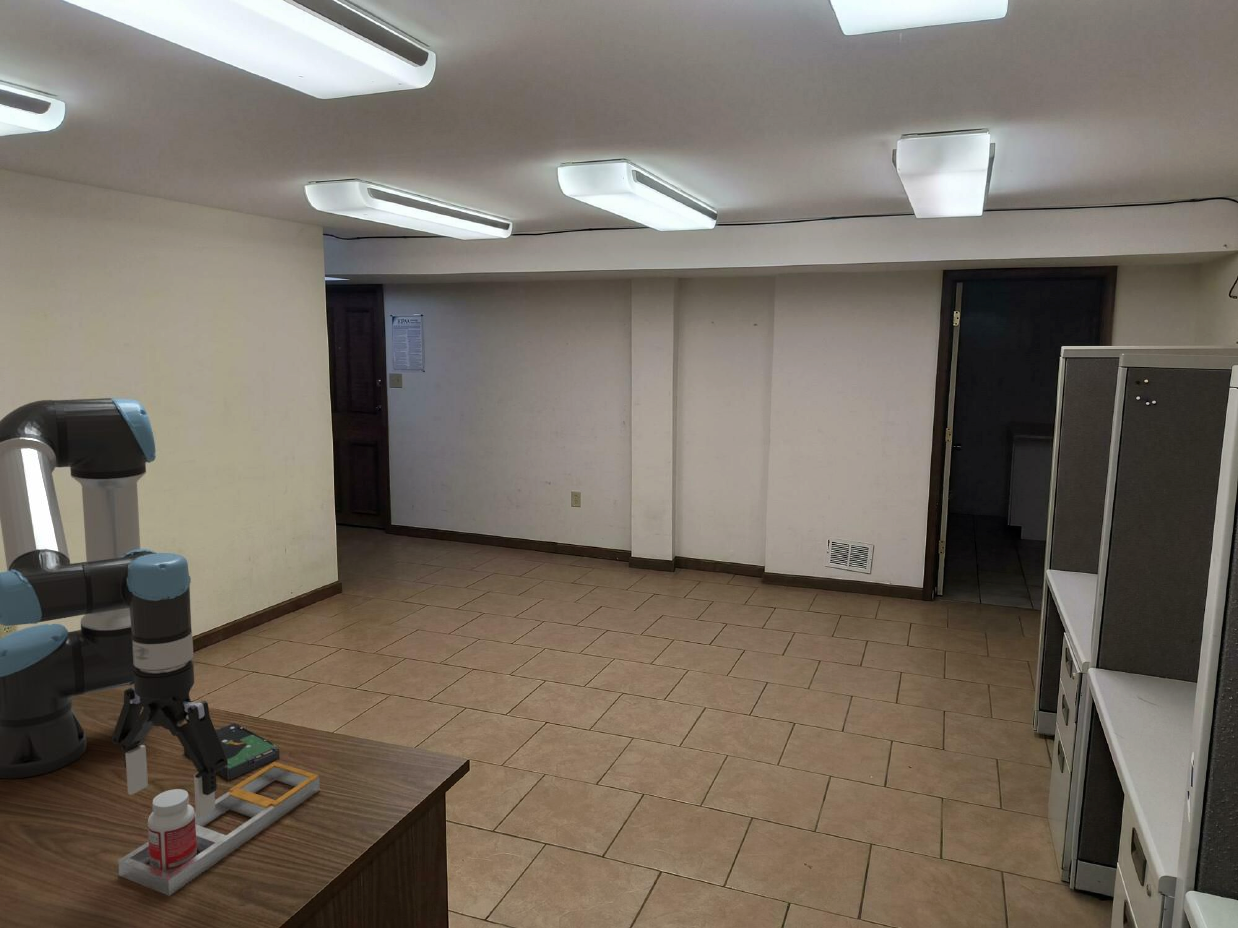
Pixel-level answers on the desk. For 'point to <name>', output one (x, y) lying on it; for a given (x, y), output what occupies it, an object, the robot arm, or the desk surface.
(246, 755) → the disk drive
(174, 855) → the pill bottle
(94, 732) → the desk surface
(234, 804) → the socket rail
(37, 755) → the robot arm
